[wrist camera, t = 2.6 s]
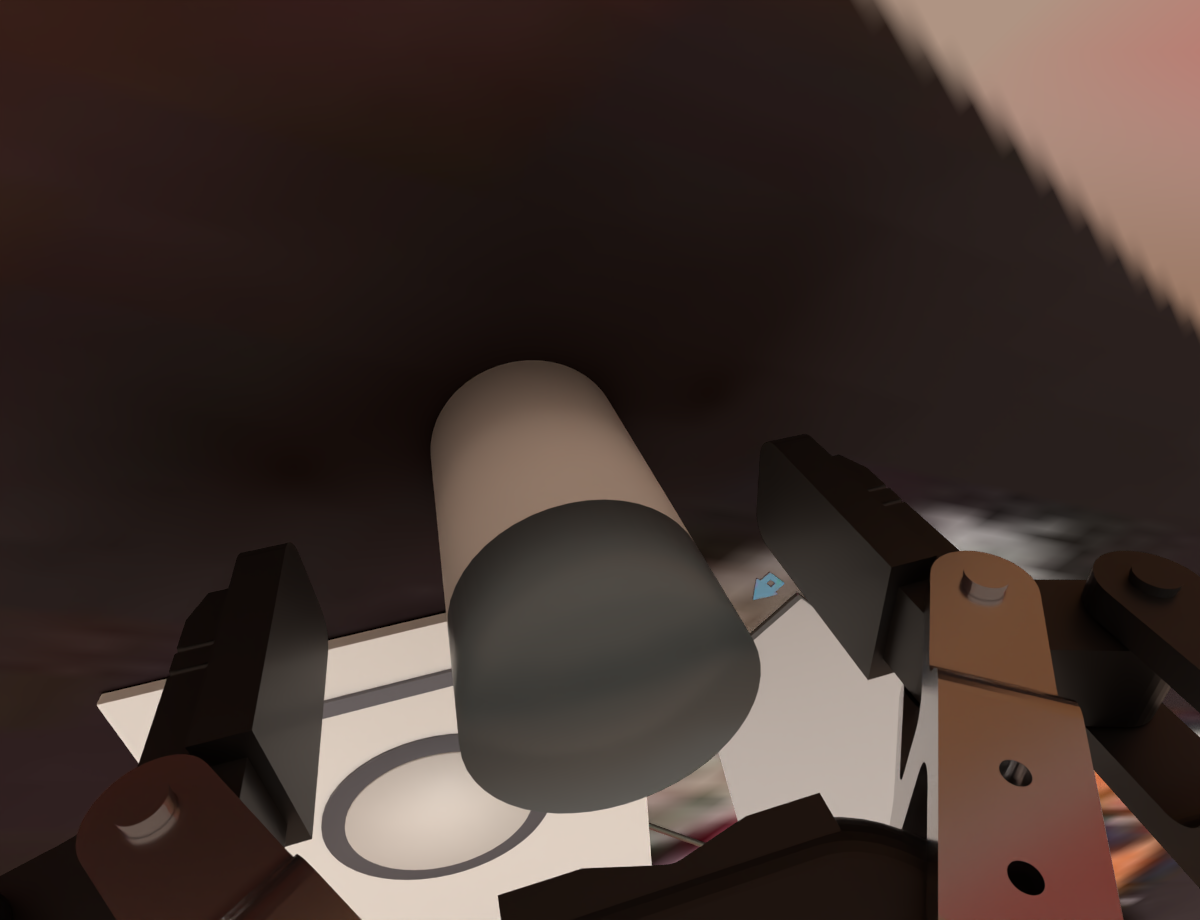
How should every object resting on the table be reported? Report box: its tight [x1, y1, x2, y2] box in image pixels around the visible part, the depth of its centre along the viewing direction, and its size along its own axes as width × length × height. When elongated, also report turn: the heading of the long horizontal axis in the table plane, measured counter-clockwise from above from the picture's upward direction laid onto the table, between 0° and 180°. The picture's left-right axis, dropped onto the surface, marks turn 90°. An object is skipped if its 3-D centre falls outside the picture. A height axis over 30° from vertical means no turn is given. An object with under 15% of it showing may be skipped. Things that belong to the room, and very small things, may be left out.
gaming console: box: [649, 572, 902, 847], centre depth 24 cm, size 22×1×10 cm
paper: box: [97, 613, 652, 920], centre depth 20 cm, size 12×14×1 cm
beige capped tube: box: [430, 360, 761, 814], centre depth 12 cm, size 4×4×7 cm
